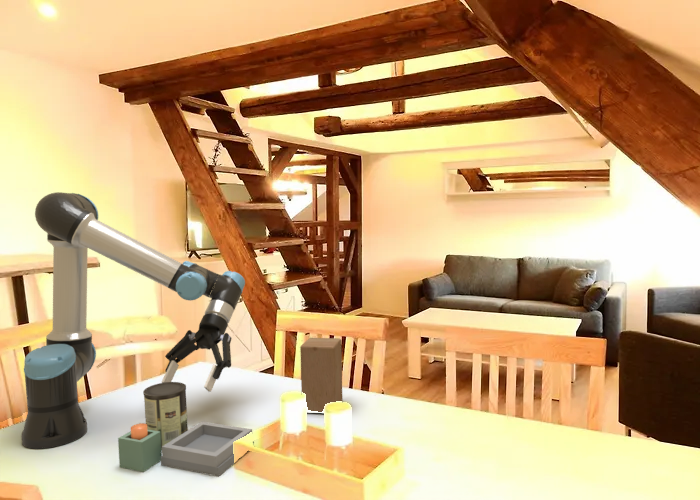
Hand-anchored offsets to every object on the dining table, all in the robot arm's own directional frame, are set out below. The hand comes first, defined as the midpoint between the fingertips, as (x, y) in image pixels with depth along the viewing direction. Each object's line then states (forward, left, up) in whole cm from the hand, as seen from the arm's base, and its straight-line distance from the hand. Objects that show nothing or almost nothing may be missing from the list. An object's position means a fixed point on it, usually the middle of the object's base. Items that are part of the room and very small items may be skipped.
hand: (185, 387), depth 139 cm
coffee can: (-1, -7, -12) cm, 14 cm away
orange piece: (+1, -18, -8) cm, 20 cm away
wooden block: (+28, +26, -12) cm, 40 cm away
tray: (+14, -10, -12) cm, 21 cm away
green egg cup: (+1, -18, -12) cm, 22 cm away
